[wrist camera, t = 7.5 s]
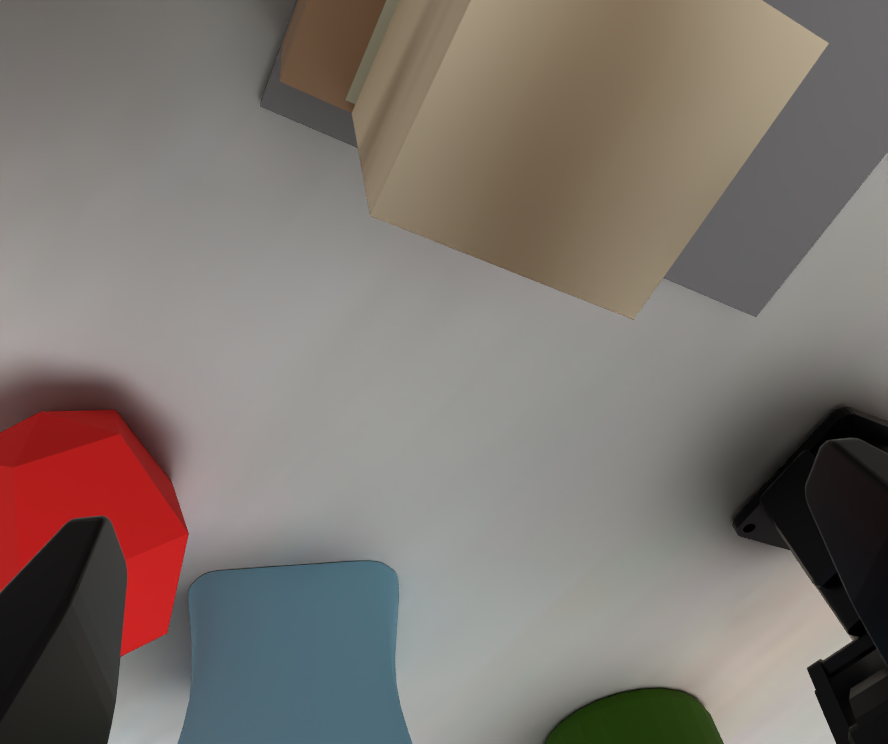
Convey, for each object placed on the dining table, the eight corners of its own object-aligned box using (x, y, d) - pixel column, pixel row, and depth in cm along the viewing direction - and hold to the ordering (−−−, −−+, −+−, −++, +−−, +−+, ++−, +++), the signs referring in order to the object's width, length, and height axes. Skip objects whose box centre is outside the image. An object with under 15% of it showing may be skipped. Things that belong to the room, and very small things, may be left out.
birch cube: (687, -17, 15) (829, 43, 11) (556, 204, 17) (633, 319, 13) (464, -156, 13) (538, -144, 9) (351, 113, 15) (369, 215, 11)
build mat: (965, 36, 20) (976, 39, 20) (749, 310, 24) (755, 317, 24) (422, -352, 14) (425, -356, 14) (261, 101, 18) (260, 106, 18)
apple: (-168, 487, 17) (-66, 788, 19) (160, 425, 18) (219, 704, 21) (-73, 404, 23) (-5, 636, 25) (164, 364, 25) (209, 583, 27)
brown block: (683, -10, 18) (742, 17, 16) (572, 178, 20) (608, 227, 18) (370, -201, 15) (383, -205, 13) (282, 45, 17) (279, 82, 15)
